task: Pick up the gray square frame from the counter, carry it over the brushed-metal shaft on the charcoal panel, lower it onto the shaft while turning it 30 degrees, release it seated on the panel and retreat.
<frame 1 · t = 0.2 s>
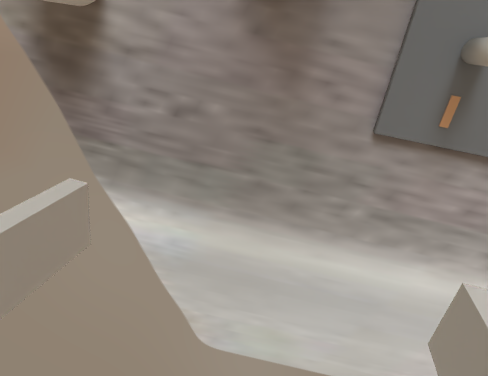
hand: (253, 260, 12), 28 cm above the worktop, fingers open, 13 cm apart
panel: (470, 50, 31), on the worktop
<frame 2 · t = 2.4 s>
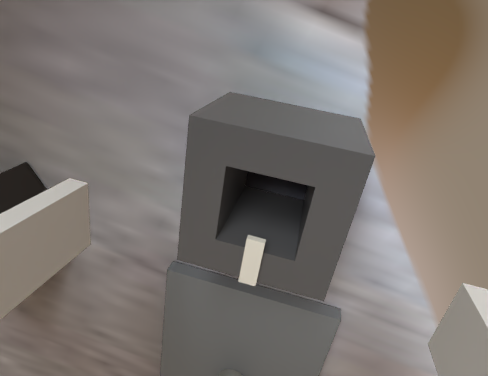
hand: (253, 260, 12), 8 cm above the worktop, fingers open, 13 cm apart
phone stand: (18, 214, 26), on the worktop
panel: (235, 367, 27), on the worktop
gray square frame: (280, 165, 19), on the worktop
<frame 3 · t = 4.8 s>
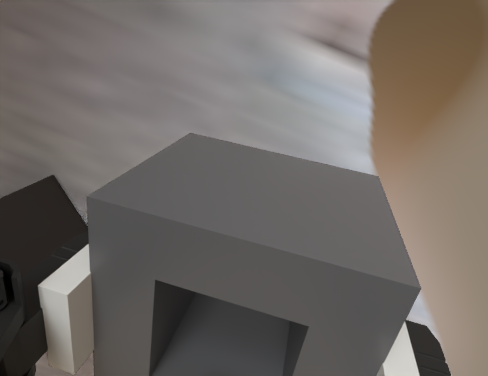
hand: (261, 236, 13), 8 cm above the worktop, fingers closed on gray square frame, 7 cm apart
phone stand: (41, 224, 28), on the worktop
gray square frame: (262, 234, 14), point 8 cm above the worktop, touching gripper
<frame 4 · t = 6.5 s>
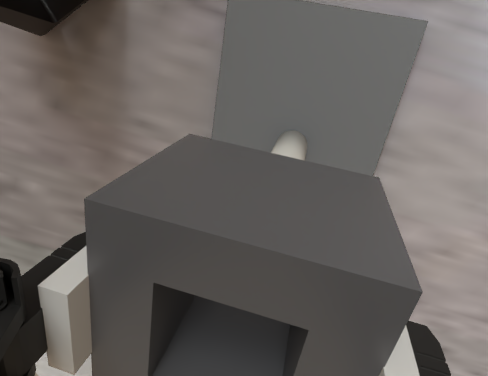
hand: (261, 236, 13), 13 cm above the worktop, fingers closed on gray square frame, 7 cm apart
panel: (293, 141, 25), on the worktop
gray square frame: (262, 235, 13), point 13 cm above the worktop, touching gripper
when the fingers open (2 cm above the worktop, at t = 8.7 s): gray square frame stays where it is, resting on panel.
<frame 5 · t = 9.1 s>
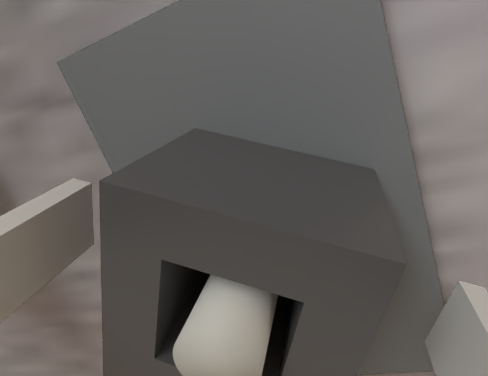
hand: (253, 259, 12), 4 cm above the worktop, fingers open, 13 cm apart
panel: (270, 212, 15), on the worktop
gray square frame: (264, 226, 14), point 1 cm above the worktop, touching panel
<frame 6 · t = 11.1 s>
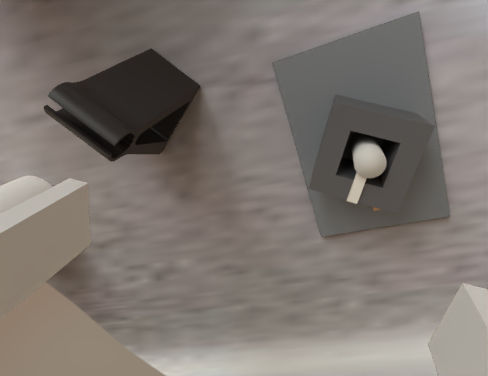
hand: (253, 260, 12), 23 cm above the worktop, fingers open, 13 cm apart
phone stand: (158, 103, 35), on the worktop
panel: (361, 138, 31), on the worktop
gray square frame: (361, 142, 30), point 1 cm above the worktop, touching panel
mug: (27, 199, 45), on the worktop
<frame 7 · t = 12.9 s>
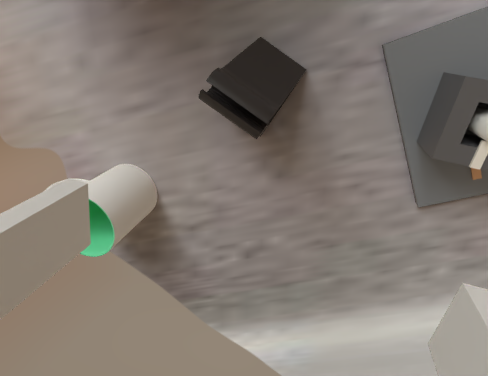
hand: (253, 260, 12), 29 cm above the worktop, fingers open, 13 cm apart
phone stand: (261, 88, 38), on the worktop
panel: (463, 112, 34), on the worktop
gray square frame: (466, 115, 33), point 1 cm above the worktop, touching panel
mug: (119, 186, 48), on the worktop
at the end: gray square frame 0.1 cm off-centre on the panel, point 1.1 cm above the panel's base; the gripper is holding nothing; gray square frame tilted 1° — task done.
